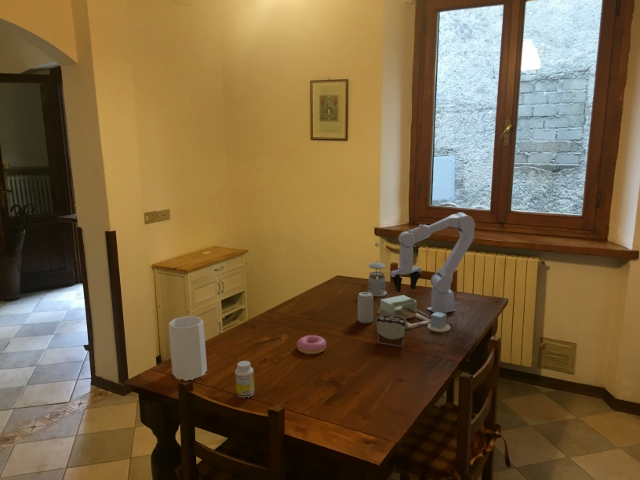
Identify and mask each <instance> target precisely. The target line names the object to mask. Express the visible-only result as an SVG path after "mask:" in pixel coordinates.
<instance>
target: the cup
mask: <svg viewBox="0 0 640 480" xmlns="http://www.w3.org/2000/svg"><path fill="white" fill-rule="evenodd" d="M204 326H205V324H204V320H203V319H202V318H201V317H200V316H195V315H185V316H180V317H176V318H173V319H172V320H171V321H170V322H168V339H169V346H170V347H169V348H170V350H169V351H170V359H171V372H172V376H173V375H174V376H175V377H176V378H177V379H183V380H184V381H185V382H189V381H188V380H192V381H194V380H193V379H195V378H198V377H201V376H203V375H204V376H205V375H206V373H207V372H208V367H207V366H208V365H207V354H206V353H207V351H206V337H205V327H204ZM206 371H207V372H206ZM205 372H206V373H205ZM174 376H173V377H174ZM204 376H203V377H204ZM175 377H174V378H175ZM176 378H175V379H176ZM201 378H202V377H201ZM177 379H176V380H177ZM198 379H199V378H198ZM195 380H196V379H195Z"/></svg>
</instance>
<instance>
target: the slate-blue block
mask: <svg viewBox="0 0 640 480" xmlns="http://www.w3.org/2000/svg"><path fill="white" fill-rule="evenodd" d="M447 314H448V313H440V312H435V313H434V312H433V313H432V314H430V316H431V327H434V328H438V329H442V328H444V327H445V326H446V324H447V319H448V318H447Z"/></svg>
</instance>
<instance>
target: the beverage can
mask: <svg viewBox="0 0 640 480" xmlns="http://www.w3.org/2000/svg"><path fill="white" fill-rule="evenodd" d="M357 321H358V322H359V323H360V324H370V323H371V322H373V321H374V296H372V293H369V292H368V291H363V292H358V296H357Z"/></svg>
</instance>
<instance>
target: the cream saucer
mask: <svg viewBox="0 0 640 480" xmlns="http://www.w3.org/2000/svg"><path fill="white" fill-rule="evenodd" d="M427 329H429V330H430V331H432V332H435V333H436V332H437V333H445V332H449V331H450V330H451V325H450V324H448V323H446V326H445V327H444V328H442V329H438V328H434V327H431V323H429V324H427Z"/></svg>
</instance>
